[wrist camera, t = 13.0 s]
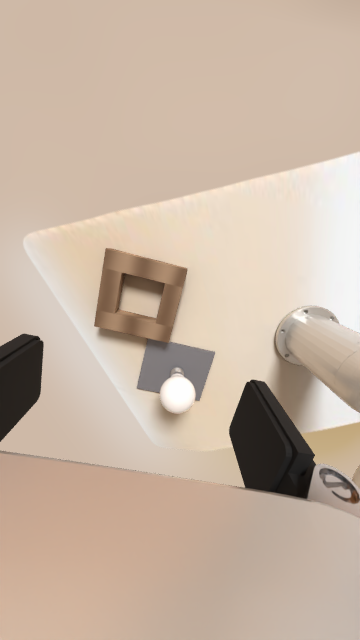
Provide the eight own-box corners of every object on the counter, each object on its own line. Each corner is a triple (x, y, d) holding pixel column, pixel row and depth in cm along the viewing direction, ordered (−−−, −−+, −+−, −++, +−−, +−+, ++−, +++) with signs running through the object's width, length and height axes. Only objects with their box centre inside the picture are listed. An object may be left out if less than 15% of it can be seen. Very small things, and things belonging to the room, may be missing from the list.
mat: (214, 352, 46) (215, 352, 46) (199, 399, 50) (199, 400, 49) (148, 337, 45) (148, 337, 45) (137, 387, 48) (136, 388, 48)
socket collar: (186, 268, 41) (187, 269, 38) (168, 336, 45) (168, 342, 42) (110, 248, 40) (105, 248, 37) (99, 321, 44) (94, 326, 41)
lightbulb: (185, 387, 48) (189, 426, 38) (157, 379, 48) (153, 416, 37) (196, 362, 47) (203, 395, 36) (167, 353, 46) (165, 384, 35)
